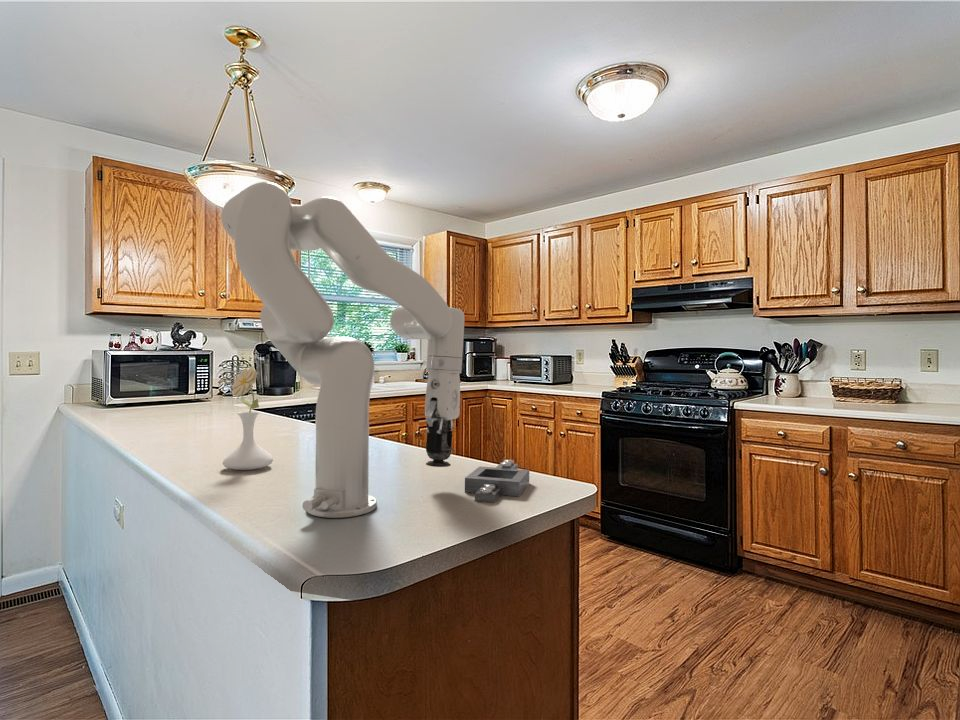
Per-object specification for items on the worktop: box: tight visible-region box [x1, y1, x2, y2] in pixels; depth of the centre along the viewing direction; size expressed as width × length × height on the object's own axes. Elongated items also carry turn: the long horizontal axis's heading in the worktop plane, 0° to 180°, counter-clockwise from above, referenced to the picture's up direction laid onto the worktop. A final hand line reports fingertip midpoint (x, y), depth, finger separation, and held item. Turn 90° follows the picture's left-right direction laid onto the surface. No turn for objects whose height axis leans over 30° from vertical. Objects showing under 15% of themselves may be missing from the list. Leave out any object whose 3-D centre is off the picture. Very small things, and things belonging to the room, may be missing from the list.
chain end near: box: [464, 476, 530, 503], centre depth 112 cm, size 17×12×2 cm, turn 165°
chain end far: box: [464, 459, 530, 489], centre depth 118 cm, size 17×12×4 cm, turn 165°
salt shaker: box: [425, 416, 454, 468], centre depth 114 cm, size 6×6×12 cm
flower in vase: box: [222, 366, 274, 471], centre depth 130 cm, size 13×11×25 cm
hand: (439, 449), depth 113 cm, fingers closed on salt shaker, 5 cm apart
